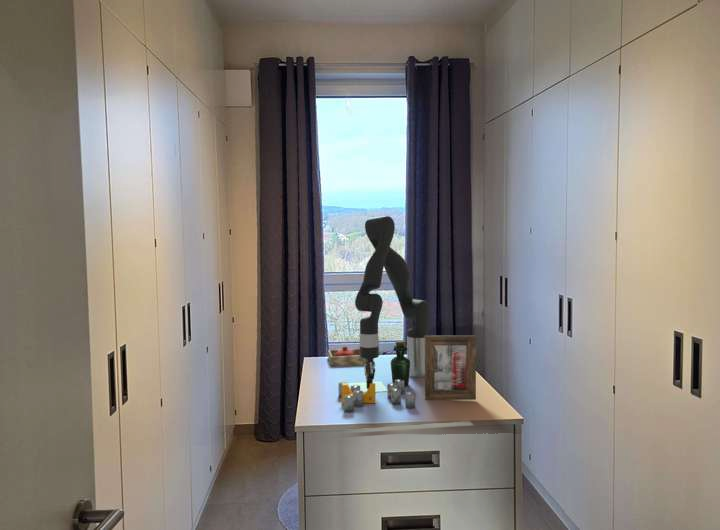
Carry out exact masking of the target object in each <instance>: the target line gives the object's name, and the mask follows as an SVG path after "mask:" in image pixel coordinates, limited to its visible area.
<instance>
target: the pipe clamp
mask: <svg viewBox="0 0 720 530" xmlns="http://www.w3.org/2000/svg"><path fill="white" fill-rule="evenodd" d="M348 383H349V382H347V383H343V384H342V398H341V405H344V396H346V395H352V396H353V392H352V391H351V390H350V388H349V385H348ZM365 403H366V404H367V403H368V404H374V403H375V404H376V392H375V383H370V387H369V389H368V390H367V391H366V392H365V393H363V404H365Z"/></svg>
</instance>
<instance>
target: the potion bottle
mask: <svg viewBox="0 0 720 530" xmlns="http://www.w3.org/2000/svg"><path fill="white" fill-rule="evenodd" d="M405 343H406V341H405V340H400V339H399V340H395V346H394V347H393V348H392V349H393V351H395V354H396V356H395V357H393V358H392V359H391V360H390V371H391V380H392V382H391V383H395V380H396V379H403V380H404V388H405V387H407V386H409V383H410V376H409V372H410V360H409V359H408V358H407V356H405V352H407V345H406V346H405Z"/></svg>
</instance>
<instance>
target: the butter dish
mask: <svg viewBox="0 0 720 530" xmlns="http://www.w3.org/2000/svg"><path fill="white" fill-rule="evenodd" d="M339 350H340V351H338V352H337V353H336V356H355V354H354V351H353V350H349V348H348V346H345V345H344V346H342V349H339Z"/></svg>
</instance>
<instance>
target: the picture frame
mask: <svg viewBox="0 0 720 530" xmlns="http://www.w3.org/2000/svg"><path fill="white" fill-rule="evenodd" d="M476 338H477V336H476V335H428V336H425V377H424V399H425V400H432V401H434V400H435V401H436V400H439V401H440V400H442V401H443V400H445V401H446V400H447V401H449V400H452V401H453V400H454V401H455V400H462V401H463V400H466V401H468V400H470V401H476V400H477V393H476V392H477V380H476V379H477V377H476V375H477V370H476V369H477V367H476V366H477V353H476V352H477V351H476V349H477V345H476V344H477V343H476V342H477V340H476Z"/></svg>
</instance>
